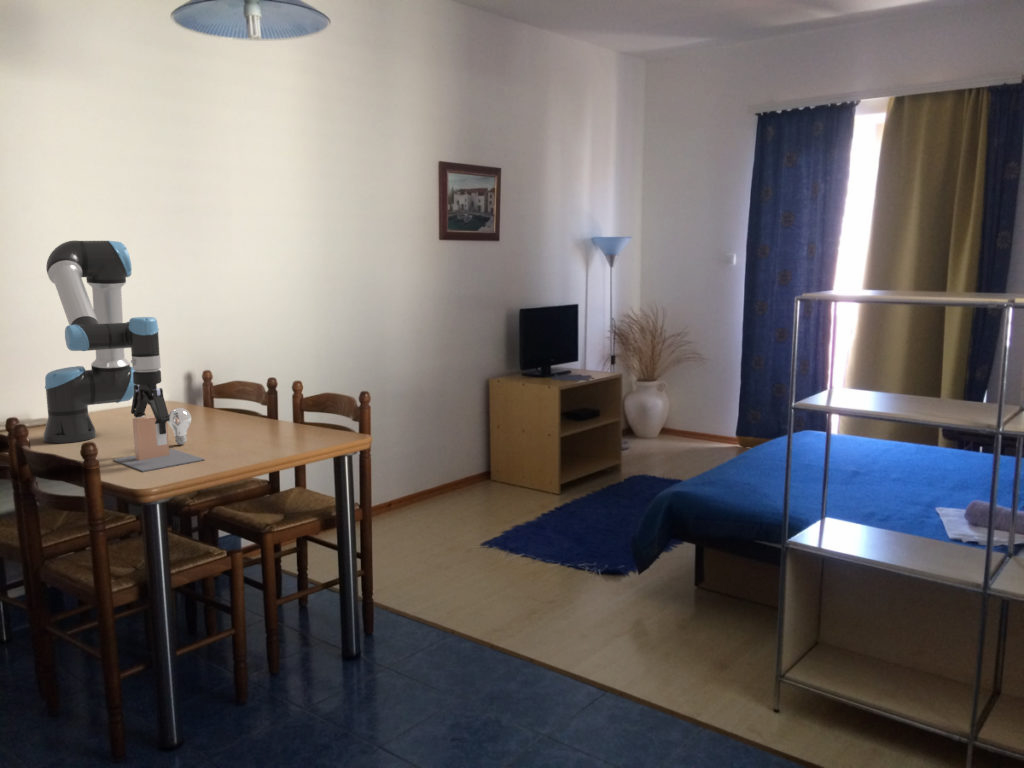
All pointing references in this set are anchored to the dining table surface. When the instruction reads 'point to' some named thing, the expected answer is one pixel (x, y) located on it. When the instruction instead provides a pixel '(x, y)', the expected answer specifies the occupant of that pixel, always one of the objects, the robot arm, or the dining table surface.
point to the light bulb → (179, 424)
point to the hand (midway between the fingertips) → (151, 441)
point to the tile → (148, 439)
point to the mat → (159, 461)
